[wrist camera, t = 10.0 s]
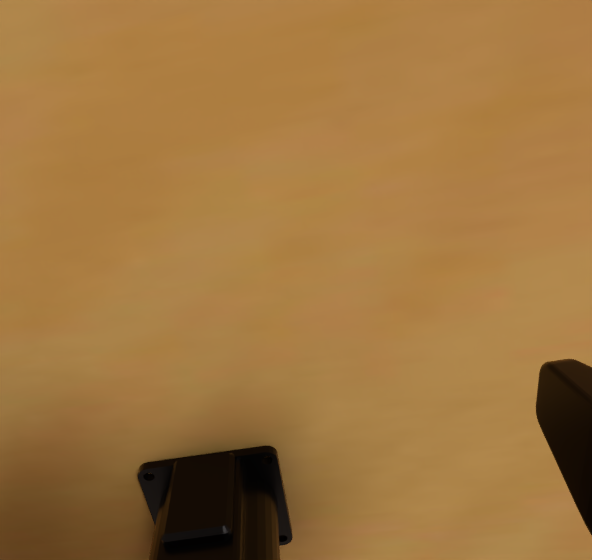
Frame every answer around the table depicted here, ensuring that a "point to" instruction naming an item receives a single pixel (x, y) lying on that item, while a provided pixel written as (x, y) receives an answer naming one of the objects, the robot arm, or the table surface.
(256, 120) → the table surface
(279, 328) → the table surface
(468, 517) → the table surface
